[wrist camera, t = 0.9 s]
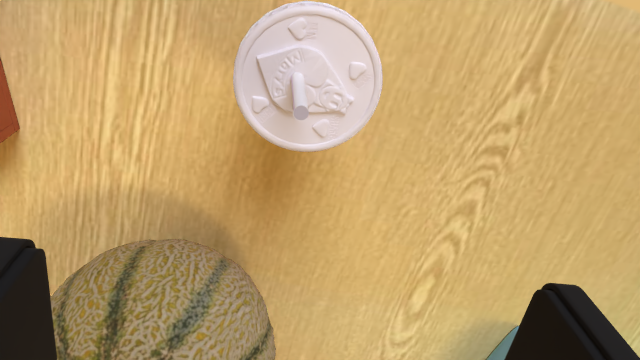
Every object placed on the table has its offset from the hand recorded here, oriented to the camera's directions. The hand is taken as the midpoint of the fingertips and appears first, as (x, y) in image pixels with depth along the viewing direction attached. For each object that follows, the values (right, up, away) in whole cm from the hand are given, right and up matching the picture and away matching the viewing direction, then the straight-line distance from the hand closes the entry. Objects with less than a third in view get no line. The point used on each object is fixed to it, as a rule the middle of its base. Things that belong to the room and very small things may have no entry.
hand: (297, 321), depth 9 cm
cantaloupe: (-10, -5, +27) cm, 30 cm away
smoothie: (-1, +11, +20) cm, 23 cm away
